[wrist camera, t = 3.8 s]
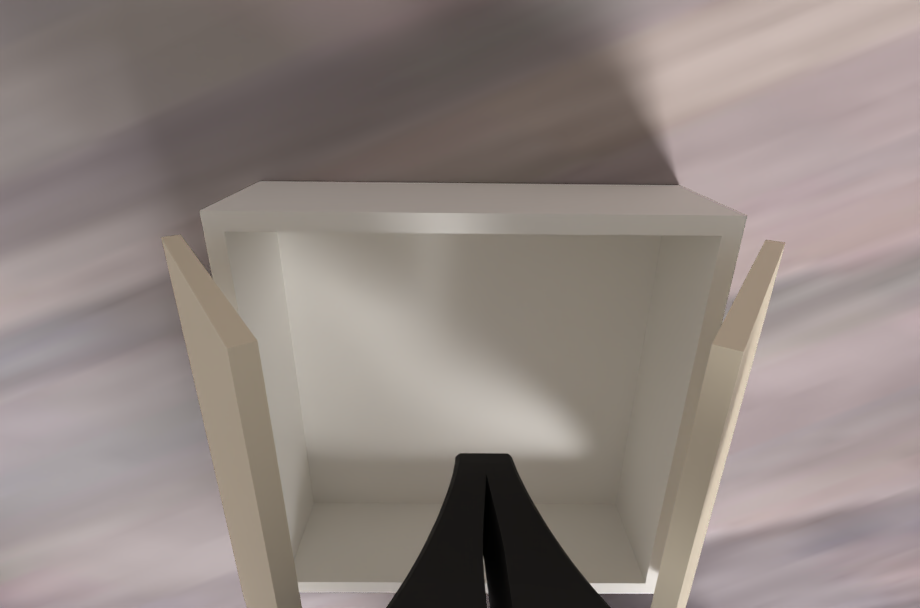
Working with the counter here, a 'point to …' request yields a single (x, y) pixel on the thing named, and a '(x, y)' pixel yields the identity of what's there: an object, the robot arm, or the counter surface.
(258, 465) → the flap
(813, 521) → the counter surface
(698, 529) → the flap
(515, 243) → the carton
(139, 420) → the counter surface
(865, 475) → the counter surface
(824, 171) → the counter surface
